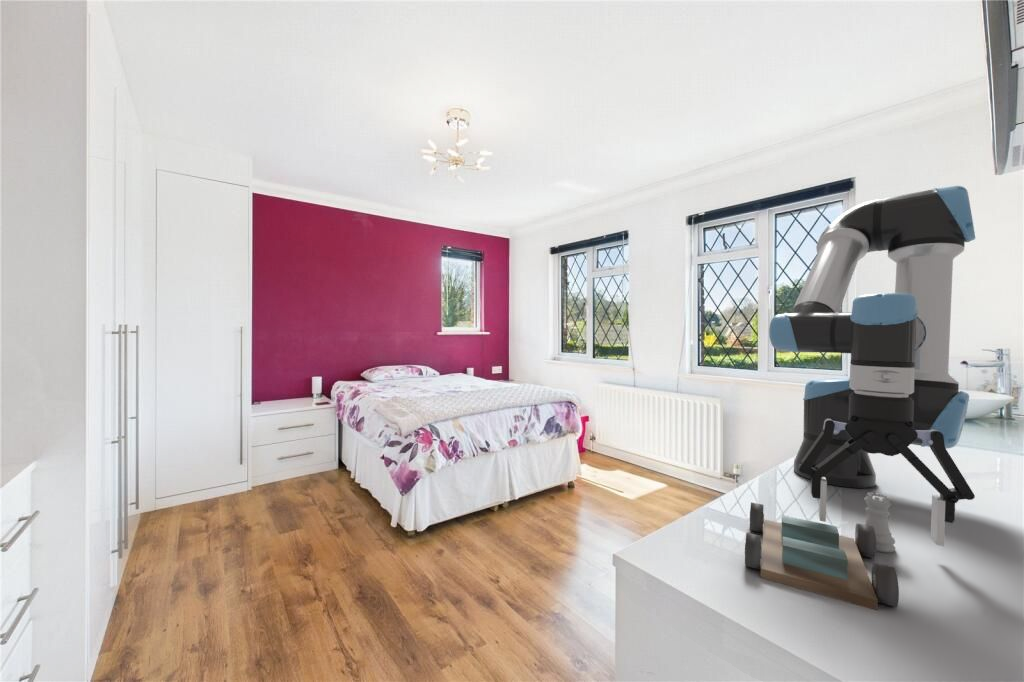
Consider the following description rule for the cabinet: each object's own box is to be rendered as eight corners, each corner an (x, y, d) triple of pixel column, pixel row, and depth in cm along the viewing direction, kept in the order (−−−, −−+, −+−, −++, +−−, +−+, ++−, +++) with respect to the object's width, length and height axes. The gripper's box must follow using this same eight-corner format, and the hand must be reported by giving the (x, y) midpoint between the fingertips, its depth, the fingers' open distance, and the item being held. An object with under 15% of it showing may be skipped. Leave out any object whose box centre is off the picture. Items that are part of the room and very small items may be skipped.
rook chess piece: (903, 555, 62) (905, 502, 62) (869, 552, 63) (870, 499, 63) (883, 541, 66) (884, 491, 66) (851, 537, 67) (852, 489, 67)
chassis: (750, 523, 72) (751, 498, 72) (870, 549, 64) (871, 521, 63) (743, 572, 57) (744, 540, 57) (900, 616, 48) (901, 579, 48)
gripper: (784, 388, 68) (781, 517, 68) (1011, 405, 54) (1006, 565, 55) (784, 385, 74) (780, 502, 74) (987, 398, 61) (982, 542, 61)
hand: (876, 529), depth 64 cm, fingers open, 13 cm apart
